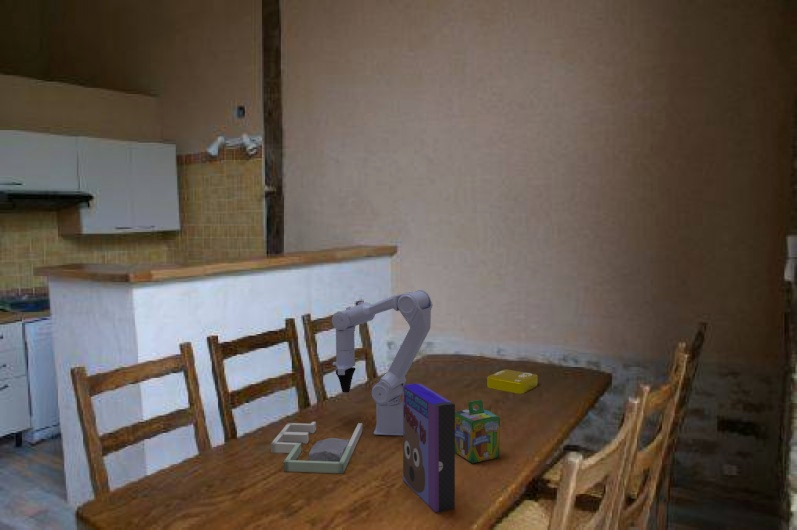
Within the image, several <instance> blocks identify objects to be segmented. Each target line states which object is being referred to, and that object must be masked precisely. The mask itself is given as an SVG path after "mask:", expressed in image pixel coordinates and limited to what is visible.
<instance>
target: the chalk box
mask: <svg viewBox="0 0 797 530" xmlns="http://www.w3.org/2000/svg"><path fill="white" fill-rule="evenodd" d="M475 405H477V406H478V407H475V408H474V406H475ZM467 406H468V408H467V409H466V408H465V409H461V410H458V411H457V410H455V454H457V455H458V456H460V457H462V458H463V459H465V460H467V461H468V462H469V463H470V464H476V463H480V462H485V461H489V460H495V459H499V458H500V441H501V440H500V436H501V435H500V431H501V417H500V416H499V415H498V414H497V415H496V414H495V413H493V412H492V411H491V410H487V409H484V405H483V400H482V399H476V400H472V401H468V403H467Z"/></svg>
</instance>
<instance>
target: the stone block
mask: <svg viewBox="0 0 797 530" xmlns="http://www.w3.org/2000/svg"><path fill="white" fill-rule="evenodd" d="M349 441H350V439H343V438H337V437H335V438H334V437H332V438H331V437H330V438H329V437H328V438H325V439H321V440H318V441H316V442H315V444H313V446H312V447H311V449H310V451H309V452H308V453H309V454H308V461H331V462H340V460H341V458H342V456H343V453H344V451H345V449H346V447H347V445H348V443H349Z"/></svg>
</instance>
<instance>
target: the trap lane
mask: <svg viewBox="0 0 797 530" xmlns="http://www.w3.org/2000/svg"><path fill="white" fill-rule="evenodd" d="M316 431H317V421H312V422H311V423H298V422H296V423H294V422H287V423H286V424H285V426H284V427H283V428H282V430H281V431H280V432H279V433H278V434H277V436H276V437H275V438H274V439H273V440H272V441H271V443H270V453H274V454H287V456H286V458H285V459H284V460H283V472H289V473H290V472H291V473H292V472H293V473H294V472H295V473H321V474H345V471H346V469H347V466H348V464H349V462H350V460H351V457H352V455H353V453H354V451H355V448H356V446H357V444H358V442H359V439H360V438H361V436H362V433H363V423H362V422H358V423H357V425H356V427H355V429H354V431H353V433H352V436H351V437H350V439H349V443H348V445H347V447H346V449H345V451H344V453H343V456H342V458H341V460H340V462H331V461H310V460H304V459H303V460H299V459H298V458H299V456H300V455H301V453H302V445H303V444H304V445H305V444H306V445H307V444H308V443H309V440H310V439H309V438H310V437H309V435H310V434H315V432H316ZM297 459H298V460H297Z"/></svg>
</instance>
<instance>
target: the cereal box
mask: <svg viewBox="0 0 797 530" xmlns="http://www.w3.org/2000/svg"><path fill="white" fill-rule="evenodd" d="M402 402H403V435H402V462H403V464H402V465H403V466H402V467H403V469H402V473H403V475H402V478H403V480H402V481H403V482H404V483H405V484H406V485H407V486H408V487H409V489H410V490H412V491H413V493H414V494H416V496H418V497H419V498H420V500H422V502H424V504H426V506H427V507H429V509H431V510H432V512H433V513H435V514H438V513H439V514H440V513H443V512H447V511H451V510H455V508H456V503H455V501H456V496H455V495H456V492H455V491H456V488H455V487H456V486H455V485H456V482H455V480H456V478H455V477H456V469H455V468H456V453H455V412H456V404H455V403H454V402H452V401H450V400H449V399H447V398H445V396H442V395H440V394H439V393H437V392H436V391H434V390H432V389H430V388H429V387H427V386H426V385H424V384H422V383H411V384H404V386H403V394H402Z"/></svg>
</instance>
